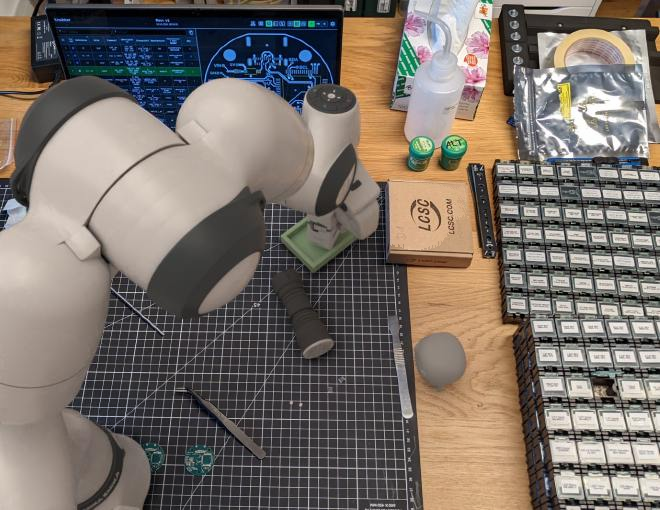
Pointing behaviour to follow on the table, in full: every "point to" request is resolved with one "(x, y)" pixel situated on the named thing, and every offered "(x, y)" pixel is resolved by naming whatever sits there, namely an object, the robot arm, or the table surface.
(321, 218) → the ink box
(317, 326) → the flashlight
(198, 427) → the table surface
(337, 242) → the tray
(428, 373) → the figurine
